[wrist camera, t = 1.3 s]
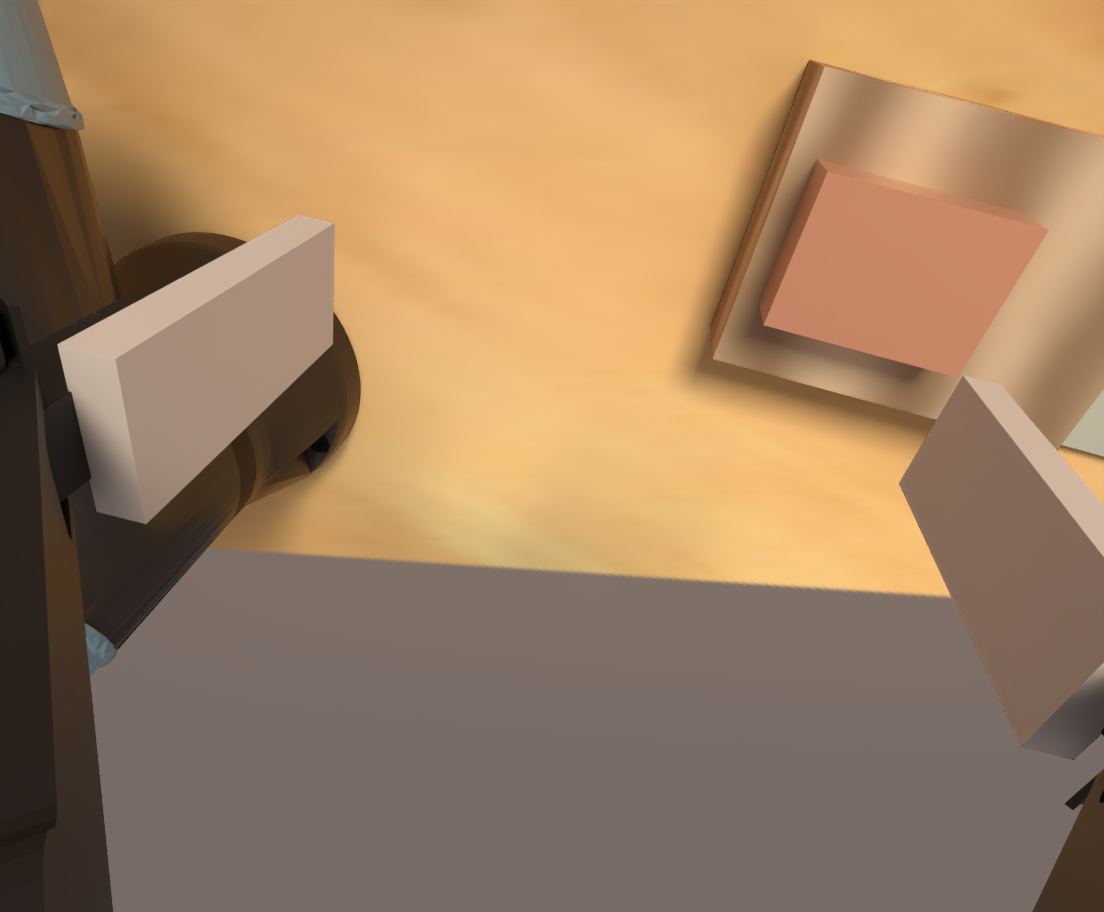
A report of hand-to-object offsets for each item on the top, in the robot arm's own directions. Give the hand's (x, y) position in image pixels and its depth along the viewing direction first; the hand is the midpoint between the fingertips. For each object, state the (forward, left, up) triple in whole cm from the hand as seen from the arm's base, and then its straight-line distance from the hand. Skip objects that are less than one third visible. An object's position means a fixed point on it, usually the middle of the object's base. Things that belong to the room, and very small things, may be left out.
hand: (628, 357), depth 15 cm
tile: (+8, -4, -16) cm, 19 cm away
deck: (+11, -6, -20) cm, 24 cm away
